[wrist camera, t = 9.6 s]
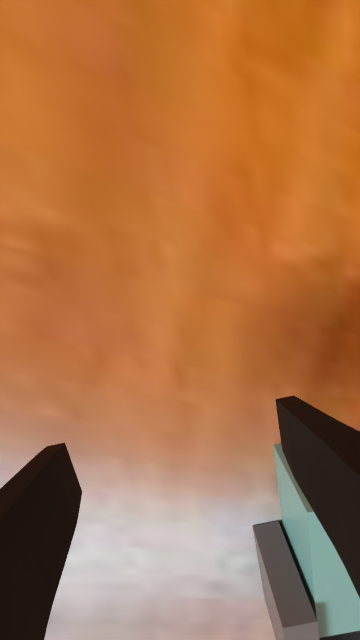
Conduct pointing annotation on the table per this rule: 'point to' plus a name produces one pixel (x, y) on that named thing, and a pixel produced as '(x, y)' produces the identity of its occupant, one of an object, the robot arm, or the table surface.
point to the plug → (316, 558)
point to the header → (286, 589)
